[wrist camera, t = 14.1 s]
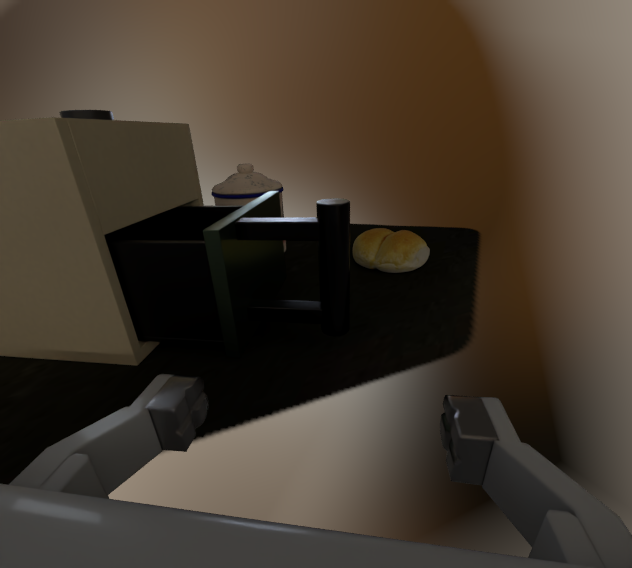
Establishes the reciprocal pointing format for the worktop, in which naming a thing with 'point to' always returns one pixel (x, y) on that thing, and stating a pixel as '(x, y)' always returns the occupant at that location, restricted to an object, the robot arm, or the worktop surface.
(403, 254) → the bread roll
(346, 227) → the door with handle
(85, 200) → the cube with dark spot
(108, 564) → the robot arm
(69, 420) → the worktop surface
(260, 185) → the enamel mug with lid
